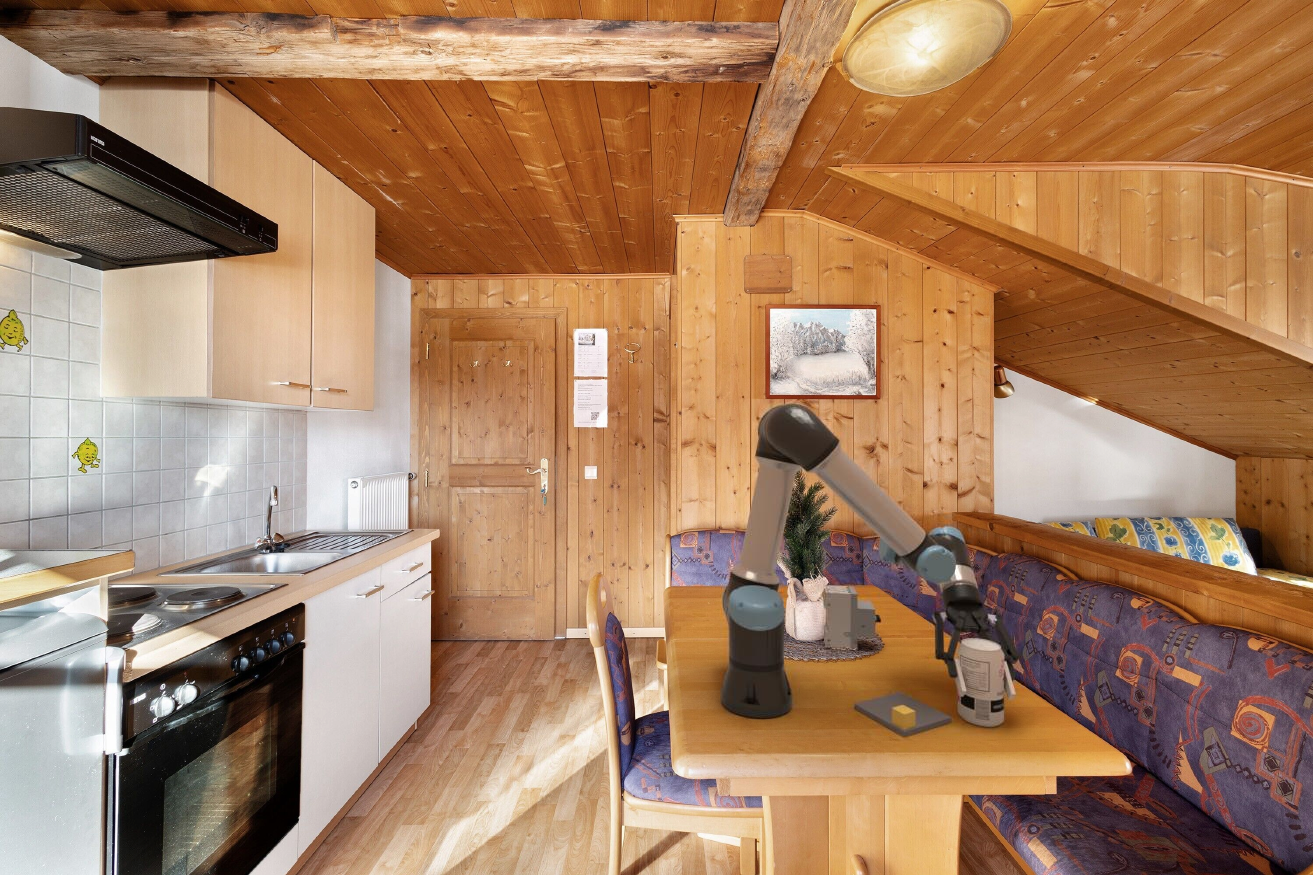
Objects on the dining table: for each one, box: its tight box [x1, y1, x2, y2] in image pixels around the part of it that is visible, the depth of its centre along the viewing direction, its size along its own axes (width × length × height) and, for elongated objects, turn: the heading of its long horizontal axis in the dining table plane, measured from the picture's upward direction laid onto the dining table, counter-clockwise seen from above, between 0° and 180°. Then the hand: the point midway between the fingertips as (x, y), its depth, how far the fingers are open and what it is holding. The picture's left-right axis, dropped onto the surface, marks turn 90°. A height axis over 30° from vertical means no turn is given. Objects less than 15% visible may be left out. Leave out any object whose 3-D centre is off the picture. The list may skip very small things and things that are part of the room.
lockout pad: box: [853, 691, 953, 738], centre depth 122 cm, size 13×13×4 cm
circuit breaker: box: [822, 585, 882, 649], centre depth 161 cm, size 8×14×15 cm, turn 78°
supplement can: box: [957, 637, 1005, 728], centre depth 121 cm, size 8×8×15 cm
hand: (987, 695), depth 118 cm, fingers closed on supplement can, 8 cm apart
